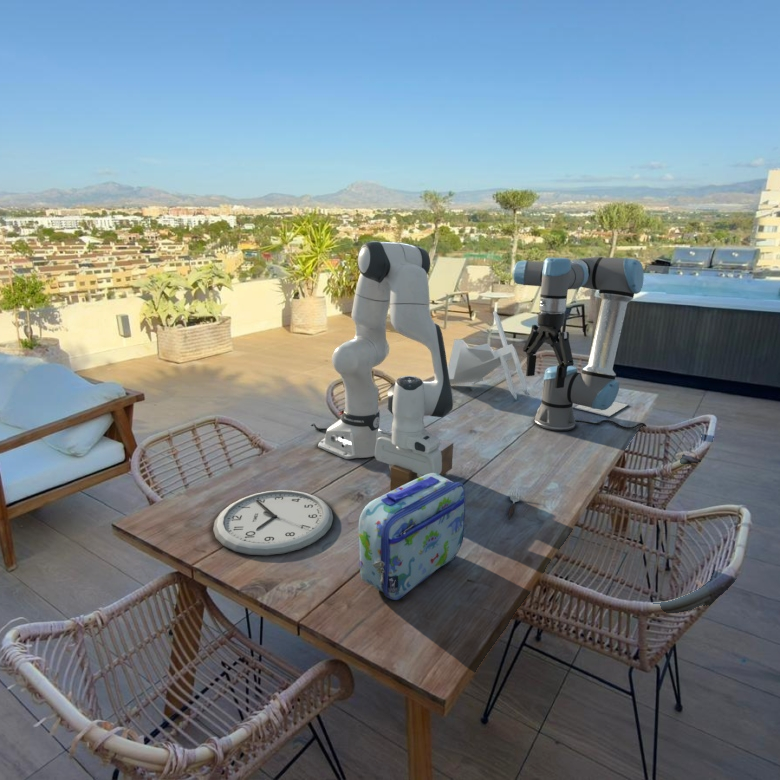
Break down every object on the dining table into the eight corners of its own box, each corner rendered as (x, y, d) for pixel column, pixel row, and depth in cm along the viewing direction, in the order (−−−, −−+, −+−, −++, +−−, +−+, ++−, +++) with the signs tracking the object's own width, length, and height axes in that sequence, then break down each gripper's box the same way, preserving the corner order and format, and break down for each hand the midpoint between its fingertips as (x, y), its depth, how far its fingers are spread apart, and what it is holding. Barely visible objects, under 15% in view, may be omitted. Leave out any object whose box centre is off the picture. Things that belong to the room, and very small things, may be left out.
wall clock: (331, 546, 121) (198, 551, 119) (331, 552, 122) (199, 557, 119) (333, 485, 150) (227, 488, 147) (334, 490, 150) (227, 493, 148)
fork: (503, 520, 136) (504, 514, 136) (511, 493, 151) (512, 486, 150) (513, 522, 136) (514, 515, 135) (521, 494, 150) (521, 488, 149)
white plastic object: (461, 429, 252) (437, 405, 227) (444, 352, 274) (420, 323, 250) (535, 404, 240) (518, 377, 215) (510, 326, 262) (492, 293, 237)
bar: (435, 463, 166) (437, 438, 163) (451, 468, 162) (453, 442, 160) (390, 495, 146) (390, 467, 143) (407, 501, 143) (408, 473, 140)
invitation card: (608, 416, 214) (573, 407, 224) (608, 416, 214) (573, 408, 224) (628, 404, 229) (594, 396, 238) (628, 405, 229) (594, 397, 238)
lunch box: (387, 613, 103) (389, 519, 97) (352, 587, 110) (351, 498, 104) (468, 558, 121) (474, 476, 114) (433, 538, 128) (436, 460, 122)
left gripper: (370, 431, 145) (369, 476, 149) (434, 449, 134) (431, 497, 138) (383, 424, 150) (382, 468, 154) (446, 441, 139) (443, 488, 143)
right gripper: (515, 306, 163) (509, 372, 169) (571, 319, 141) (562, 394, 147) (535, 305, 166) (528, 370, 172) (592, 318, 144) (583, 391, 150)
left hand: (406, 482), depth 146 cm, fingers closed on bar, 6 cm apart
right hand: (544, 381), depth 160 cm, fingers open, 13 cm apart
